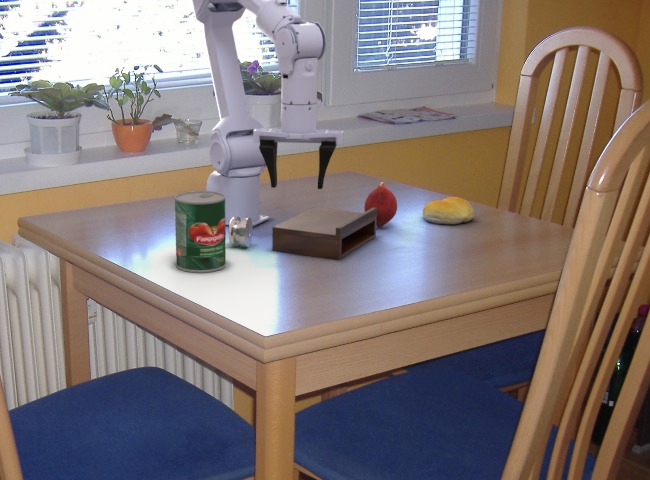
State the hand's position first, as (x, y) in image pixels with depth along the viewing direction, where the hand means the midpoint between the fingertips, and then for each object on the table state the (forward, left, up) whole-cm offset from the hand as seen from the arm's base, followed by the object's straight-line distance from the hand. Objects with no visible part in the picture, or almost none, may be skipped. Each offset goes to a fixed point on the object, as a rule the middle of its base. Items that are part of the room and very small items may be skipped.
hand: (297, 187), depth 170 cm
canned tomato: (-8, -19, -10) cm, 23 cm away
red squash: (+8, +17, -10) cm, 22 cm away
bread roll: (+17, +28, -10) cm, 35 cm away
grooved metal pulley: (-8, -6, -10) cm, 14 cm away
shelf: (+4, +2, -10) cm, 11 cm away
